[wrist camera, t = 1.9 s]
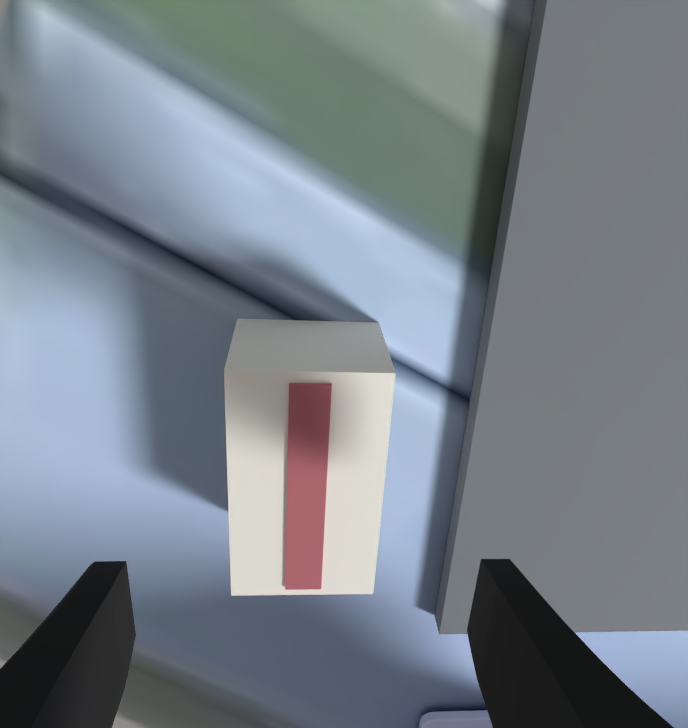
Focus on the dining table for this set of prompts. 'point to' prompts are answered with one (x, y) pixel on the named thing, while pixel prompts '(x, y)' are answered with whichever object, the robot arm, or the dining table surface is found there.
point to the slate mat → (586, 331)
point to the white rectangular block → (306, 454)
